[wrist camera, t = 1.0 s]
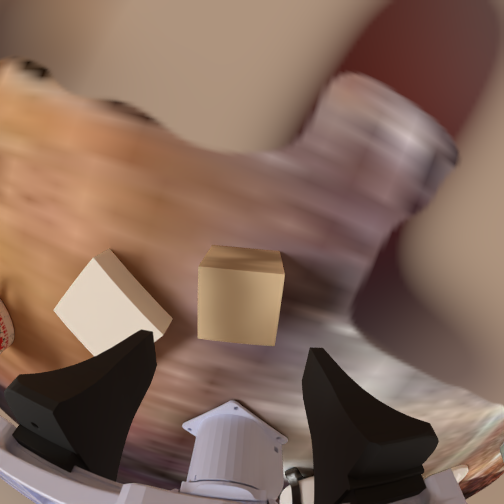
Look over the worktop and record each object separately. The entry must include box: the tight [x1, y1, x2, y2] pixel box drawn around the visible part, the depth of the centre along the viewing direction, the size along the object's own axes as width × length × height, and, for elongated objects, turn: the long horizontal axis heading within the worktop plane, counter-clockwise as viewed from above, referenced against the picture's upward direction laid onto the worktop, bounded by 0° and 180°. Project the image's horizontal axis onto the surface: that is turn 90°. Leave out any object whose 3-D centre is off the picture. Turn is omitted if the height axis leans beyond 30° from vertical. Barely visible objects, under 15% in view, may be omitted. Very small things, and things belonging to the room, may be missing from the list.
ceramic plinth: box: [54, 248, 173, 356], centre depth 22 cm, size 8×8×3 cm
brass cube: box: [198, 245, 285, 346], centre depth 19 cm, size 5×5×5 cm
